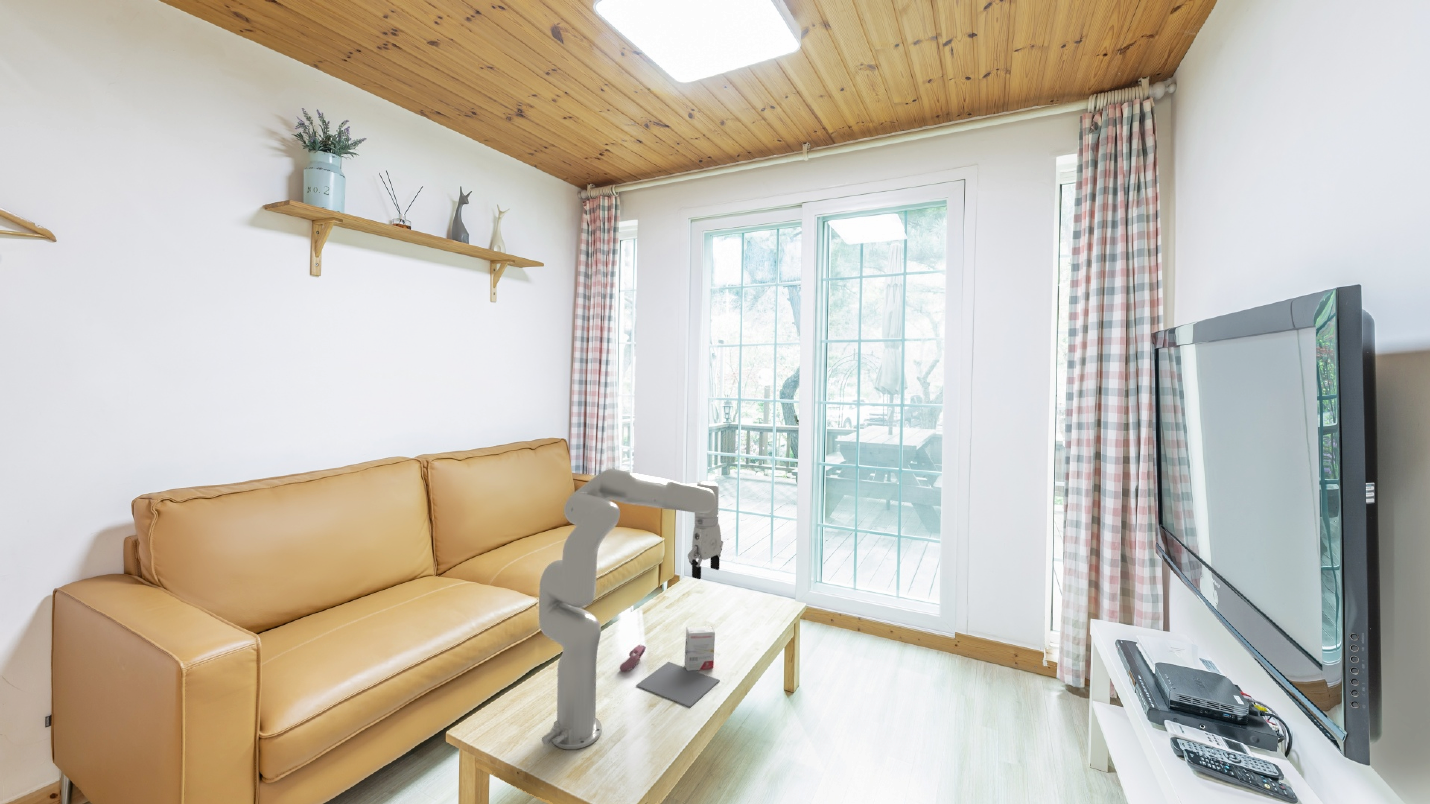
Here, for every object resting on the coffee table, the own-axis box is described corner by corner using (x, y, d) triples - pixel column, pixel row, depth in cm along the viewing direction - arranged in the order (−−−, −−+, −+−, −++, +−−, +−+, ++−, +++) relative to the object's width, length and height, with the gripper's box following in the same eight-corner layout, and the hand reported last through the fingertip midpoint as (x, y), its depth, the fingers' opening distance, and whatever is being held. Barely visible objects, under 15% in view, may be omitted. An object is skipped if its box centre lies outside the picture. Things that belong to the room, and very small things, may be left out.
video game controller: (630, 678, 169) (640, 659, 168) (617, 670, 170) (627, 651, 169) (640, 662, 179) (650, 644, 178) (629, 654, 179) (638, 636, 178)
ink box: (710, 662, 177) (712, 625, 177) (713, 670, 172) (715, 632, 172) (683, 663, 175) (685, 626, 175) (686, 671, 170) (688, 633, 170)
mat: (690, 708, 152) (690, 706, 152) (636, 686, 162) (636, 685, 162) (719, 681, 166) (719, 680, 166) (668, 662, 176) (668, 661, 176)
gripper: (699, 529, 166) (698, 584, 167) (731, 516, 180) (730, 568, 181) (679, 524, 170) (679, 579, 172) (713, 513, 184) (712, 563, 185)
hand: (705, 573), depth 176 cm, fingers open, 9 cm apart
